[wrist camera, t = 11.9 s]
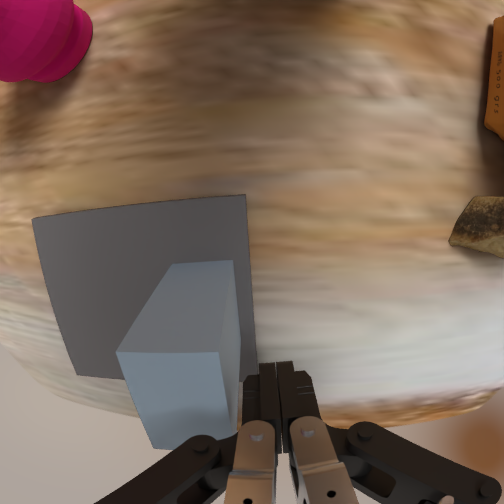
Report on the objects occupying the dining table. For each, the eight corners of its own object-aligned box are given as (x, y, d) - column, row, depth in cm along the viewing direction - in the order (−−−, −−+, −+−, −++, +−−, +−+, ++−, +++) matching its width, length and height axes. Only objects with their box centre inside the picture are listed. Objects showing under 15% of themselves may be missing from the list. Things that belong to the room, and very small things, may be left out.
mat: (35, 217, 20) (31, 219, 19) (245, 194, 20) (245, 195, 19) (79, 371, 24) (77, 374, 24) (257, 375, 24) (258, 380, 23)
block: (172, 263, 20) (115, 351, 11) (232, 259, 20) (218, 352, 11) (186, 341, 22) (153, 448, 13) (240, 339, 22) (235, 451, 13)
